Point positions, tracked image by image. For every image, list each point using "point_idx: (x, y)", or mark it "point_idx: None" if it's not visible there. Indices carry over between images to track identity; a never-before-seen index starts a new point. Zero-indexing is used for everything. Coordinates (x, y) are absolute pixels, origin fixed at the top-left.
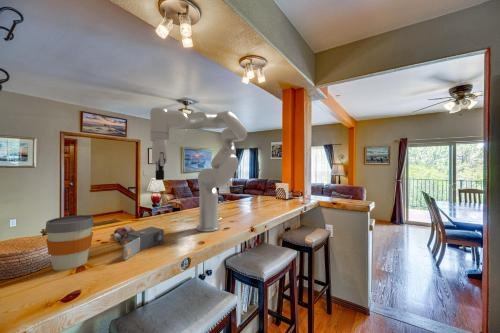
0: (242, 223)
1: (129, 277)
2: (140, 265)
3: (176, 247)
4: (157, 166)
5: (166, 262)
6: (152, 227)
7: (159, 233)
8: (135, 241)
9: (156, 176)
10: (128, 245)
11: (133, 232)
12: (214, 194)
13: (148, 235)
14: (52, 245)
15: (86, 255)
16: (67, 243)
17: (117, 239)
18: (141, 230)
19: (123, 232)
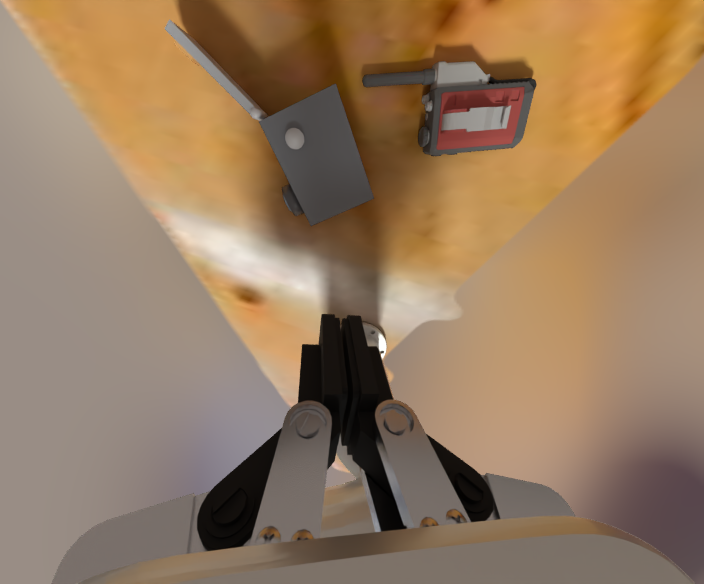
0: None
1: (29, 20)
2: (128, 85)
3: (242, 230)
4: (269, 479)
5: (128, 167)
6: (360, 199)
7: (290, 203)
8: (228, 91)
9: (321, 337)
10: (185, 48)
11: (334, 110)
12: (337, 454)
13: (279, 159)
14: None
15: None
16: None
17: (424, 69)
18: (344, 149)
19: (455, 101)
